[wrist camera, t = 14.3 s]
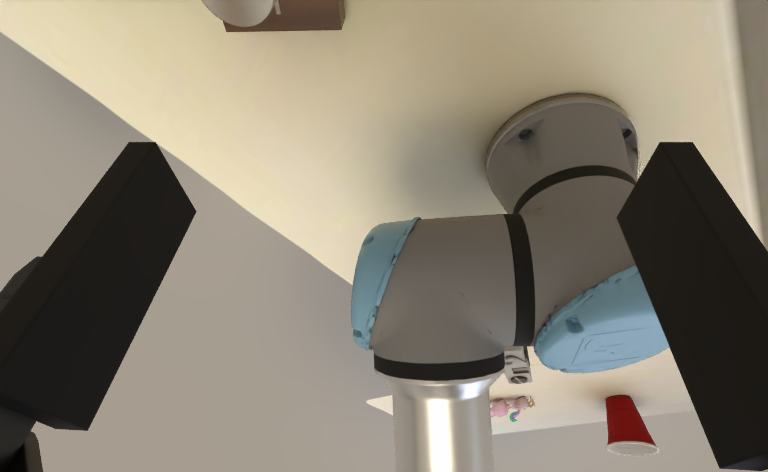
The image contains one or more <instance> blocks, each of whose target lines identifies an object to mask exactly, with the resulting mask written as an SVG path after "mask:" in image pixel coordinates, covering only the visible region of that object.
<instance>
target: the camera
mask: <svg viewBox="0 0 768 472" xmlns="http://www.w3.org/2000/svg"><path fill="white" fill-rule="evenodd" d="M504 356H505V371H504V373H505V375H506V378H507V380H508V382H509V383H511V384H513V383H516V384H521V383H527V382H532V377H531V371H530V363H529V357H528V351H527V346H510V347H505V348H504Z"/></svg>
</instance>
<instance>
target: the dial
mask: <svg viewBox="0 0 768 472" xmlns="http://www.w3.org/2000/svg"><path fill="white" fill-rule="evenodd" d="M276 1H277V0H202V2H203V3H204V4H205V6H206V7H207V8H208V9H209V10H210V11H211V12H212V13H213V14H214V15H216V16H217V17H218V18H220V19H221V20H223V21H225V22H227V23H229V24H232V25H235V26H240V27H249V26H254V25H257V24H259V23H261V22H262V21H263V20H264V19H266V17H267V16H268V15H269V13H270V12H271V10H272V8H273V6H274V5H275V3H276Z"/></svg>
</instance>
